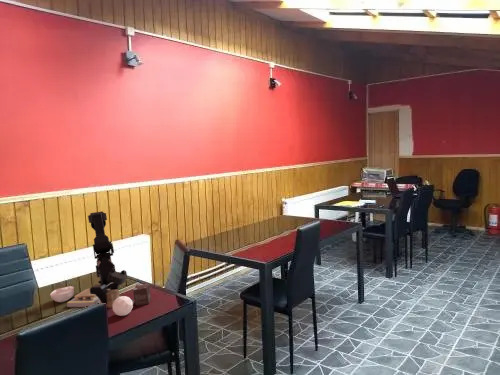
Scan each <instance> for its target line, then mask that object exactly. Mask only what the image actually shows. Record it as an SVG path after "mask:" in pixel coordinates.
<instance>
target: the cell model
mask: <svg viewBox="0 0 500 375" xmlns="http://www.w3.org/2000/svg"><path fill="white" fill-rule="evenodd" d="M49 296H50V297H51V299H52V300H53V301H55V302H56V303H64V302H68V301H70V299H71V298H72V297H74V296H75V287H74V286H71V285H70V286H66V287H61V288H60V287H59V288H56V289H54V290H53V291H52V292H51V293H50V294H49Z"/></svg>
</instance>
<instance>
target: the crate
mask: <svg viewBox="0 0 500 375" xmlns="http://www.w3.org/2000/svg"><path fill="white" fill-rule="evenodd" d="M107 291H108V292H107V294H106V297H107V306H108V307H107V308H113V303H114V301H115V300H116V299H117V298H118V297H120V290H119V288H118V289H115V290H114V289H112V290H107ZM101 303H102V302H101V301H100V303H99V304H101Z"/></svg>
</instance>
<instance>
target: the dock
mask: <svg viewBox="0 0 500 375" xmlns="http://www.w3.org/2000/svg"><path fill="white" fill-rule="evenodd" d="M107 290H110V288H107ZM96 303H99V304H101V303H100V299H99V298H98V297H97V298H95V299H94V300H91V297H89V298H88V299H86V300H83V297H82V298H81V299H79V300H76V299H75V297H74V298H72V299H71V300H68V301H66V306H67V308H85V307H86V306H90V305H93V304H96ZM86 308H87V307H86Z"/></svg>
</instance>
